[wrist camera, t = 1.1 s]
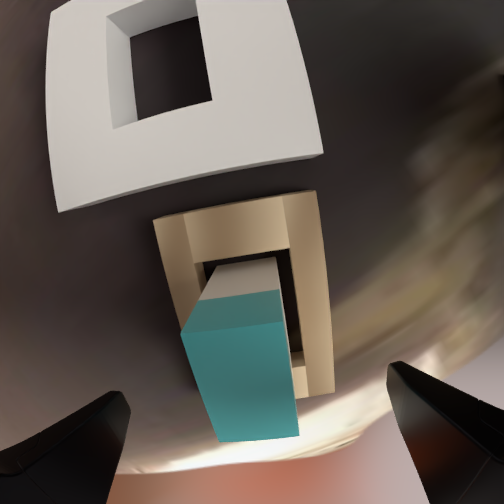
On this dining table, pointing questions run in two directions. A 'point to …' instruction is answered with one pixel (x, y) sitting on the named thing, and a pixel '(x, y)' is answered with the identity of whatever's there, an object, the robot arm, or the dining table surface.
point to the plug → (243, 353)
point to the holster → (250, 242)
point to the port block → (177, 121)
